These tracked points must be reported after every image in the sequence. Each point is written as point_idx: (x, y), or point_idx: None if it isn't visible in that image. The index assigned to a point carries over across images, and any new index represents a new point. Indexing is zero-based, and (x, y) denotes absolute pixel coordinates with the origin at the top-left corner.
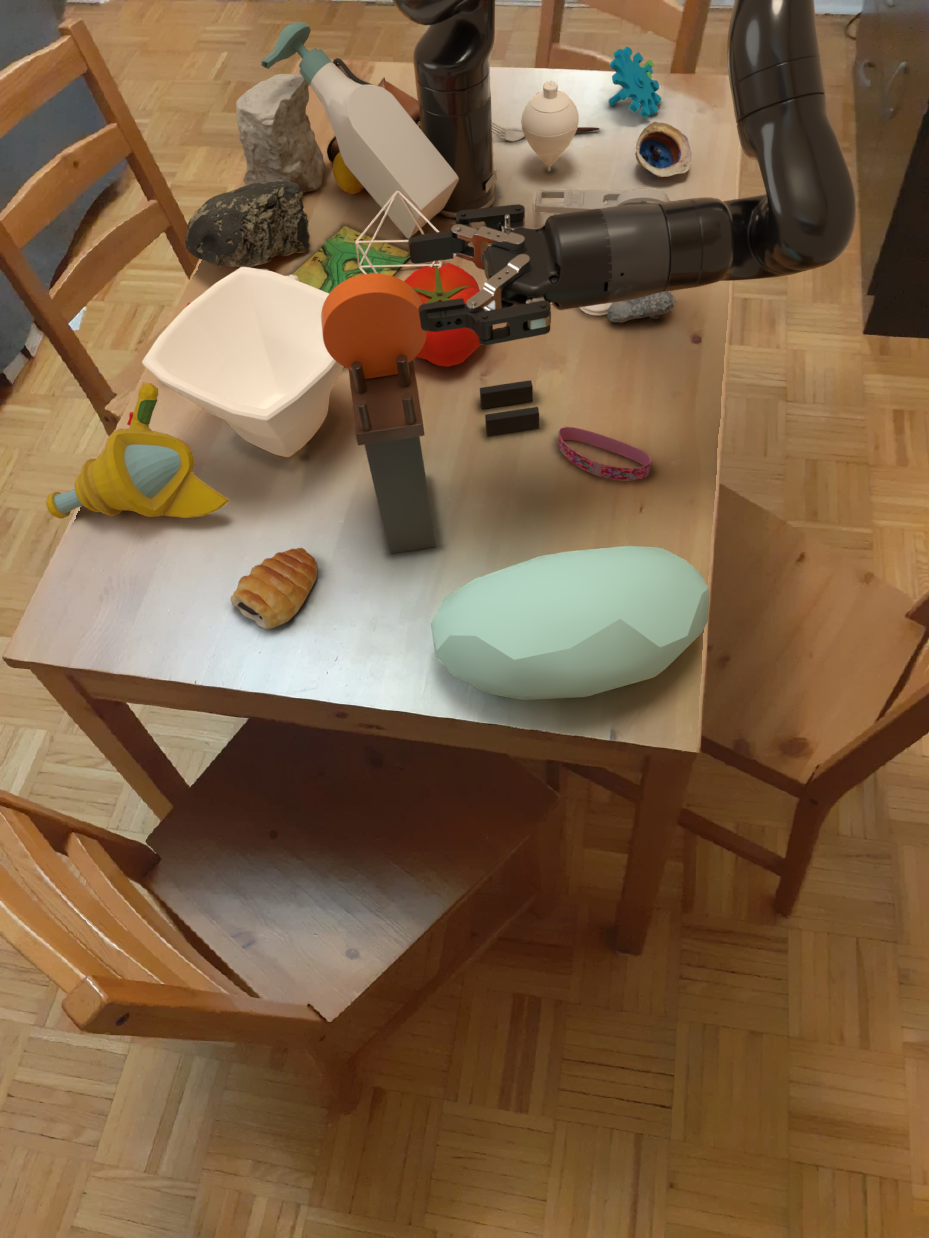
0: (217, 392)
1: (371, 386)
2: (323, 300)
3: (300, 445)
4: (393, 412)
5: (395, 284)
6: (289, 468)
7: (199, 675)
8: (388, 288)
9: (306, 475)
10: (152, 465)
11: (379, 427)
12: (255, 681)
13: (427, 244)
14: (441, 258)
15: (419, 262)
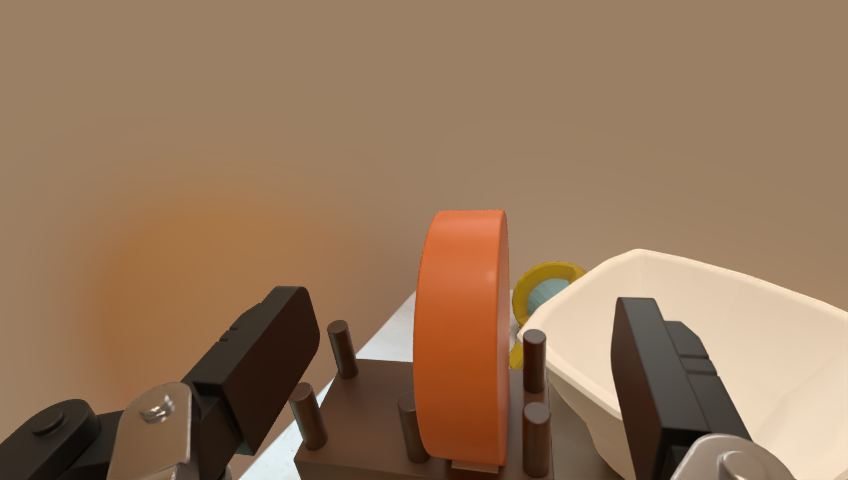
0: None
1: None
2: (834, 435)
3: (612, 465)
4: (354, 415)
5: (462, 279)
6: (588, 458)
7: (356, 357)
8: (438, 258)
9: (573, 476)
10: (543, 298)
11: (335, 389)
12: (324, 392)
13: (631, 352)
14: (634, 452)
15: (615, 379)
